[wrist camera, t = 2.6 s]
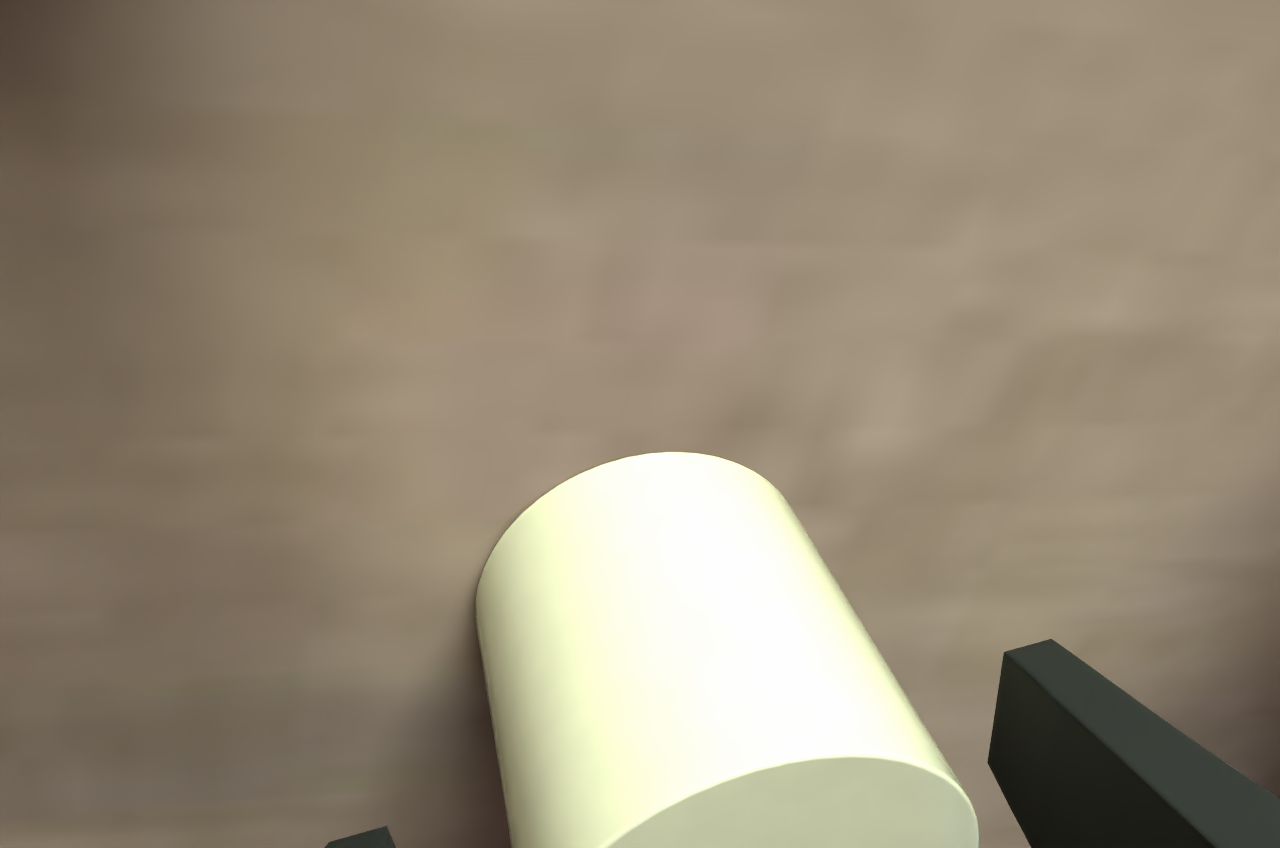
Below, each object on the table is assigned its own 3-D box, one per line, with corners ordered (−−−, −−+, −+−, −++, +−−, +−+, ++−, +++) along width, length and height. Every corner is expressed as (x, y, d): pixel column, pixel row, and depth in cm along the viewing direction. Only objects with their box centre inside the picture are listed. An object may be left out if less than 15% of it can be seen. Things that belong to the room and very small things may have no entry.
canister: (799, 414, 13) (1003, 697, 9) (804, 662, 16) (962, 966, 12) (441, 498, 13) (488, 844, 9) (509, 742, 15) (569, 1095, 11)
